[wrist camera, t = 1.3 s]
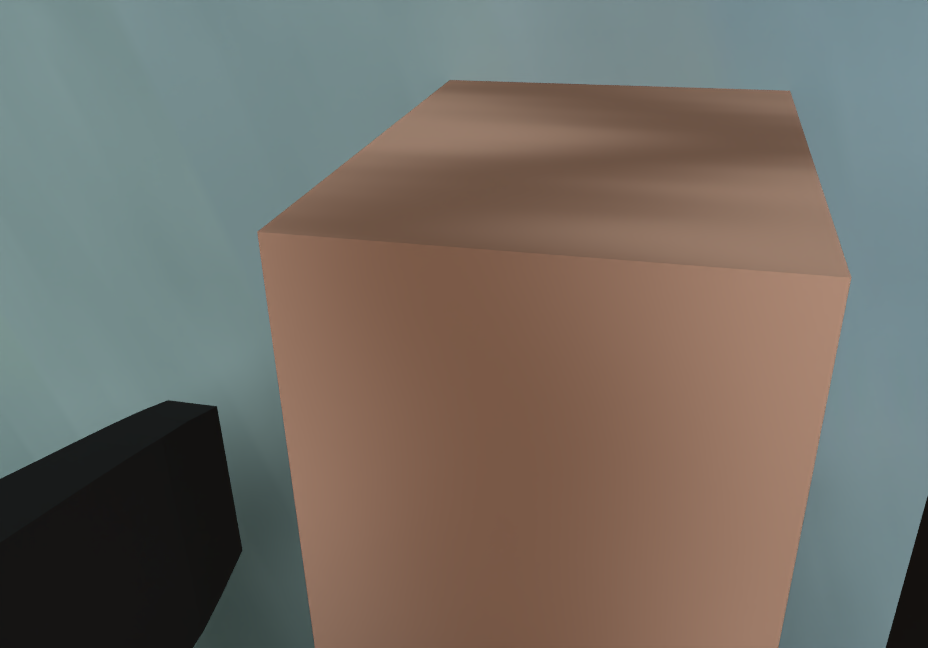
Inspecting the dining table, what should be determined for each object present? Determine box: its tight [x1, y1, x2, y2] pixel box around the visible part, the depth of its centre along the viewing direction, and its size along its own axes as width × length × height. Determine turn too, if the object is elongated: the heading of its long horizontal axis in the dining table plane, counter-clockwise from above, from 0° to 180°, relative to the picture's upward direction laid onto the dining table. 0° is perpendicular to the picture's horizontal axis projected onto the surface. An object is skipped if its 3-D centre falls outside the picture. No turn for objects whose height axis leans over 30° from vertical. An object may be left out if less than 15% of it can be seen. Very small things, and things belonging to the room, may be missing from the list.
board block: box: [257, 80, 851, 648], centre depth 11 cm, size 4×7×6 cm, turn 1°
